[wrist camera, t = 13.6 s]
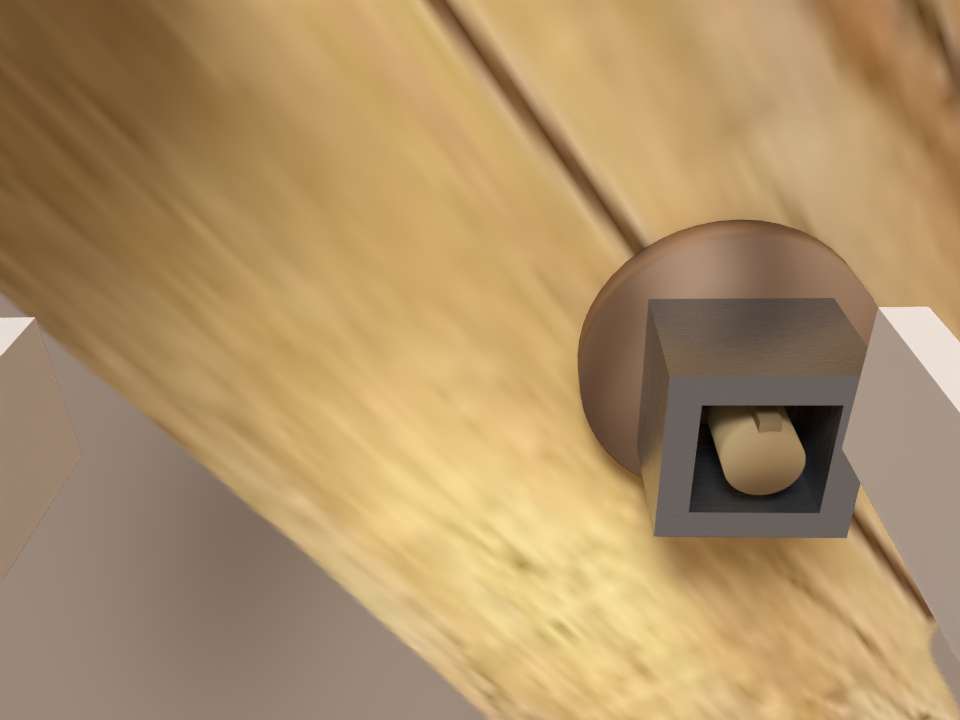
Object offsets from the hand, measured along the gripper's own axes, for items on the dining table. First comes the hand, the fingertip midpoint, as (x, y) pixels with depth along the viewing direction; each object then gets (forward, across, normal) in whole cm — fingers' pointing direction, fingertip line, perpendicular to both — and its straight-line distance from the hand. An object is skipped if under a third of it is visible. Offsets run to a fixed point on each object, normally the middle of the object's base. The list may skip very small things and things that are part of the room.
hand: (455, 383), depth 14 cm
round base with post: (+22, +11, -13) cm, 28 cm away
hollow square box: (+20, +11, -13) cm, 26 cm away
